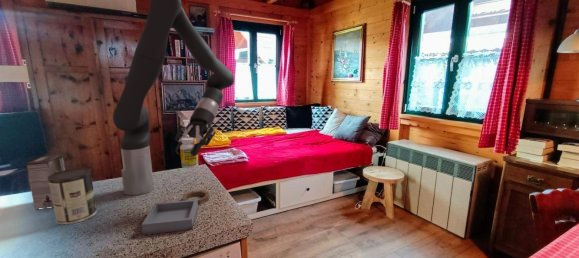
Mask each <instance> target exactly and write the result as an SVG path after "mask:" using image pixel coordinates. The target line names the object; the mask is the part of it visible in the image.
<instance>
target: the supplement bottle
mask: <svg viewBox="0 0 579 258" xmlns="http://www.w3.org/2000/svg"><path fill="white" fill-rule="evenodd" d="M181 140H182V143H183V144H182V145H181V146H180V153H181V154H180V161H181V162H180V163H181V168H183V169H193V168H196V167H198V166H199V153H198V154H197V155H196V156H193V155H192V154H191V151H192V149H193V147H194V145H195V143H196V142H195V138H193V137H189V136H188V137H186V138H182V139H181Z"/></svg>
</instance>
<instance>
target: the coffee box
mask: <svg viewBox="0 0 579 258" xmlns="http://www.w3.org/2000/svg"><path fill="white" fill-rule="evenodd" d="M25 168H26V173H27V178H28V181H29V187H30V191H31V192H30V193H31V197H32V201H33V206H34V210H35V209H39V208H47V207H54V206H53V201H52V196H51V191H50V186H49V181H48V179H47V178H48V176H50V175H52V174H54V173H57V172H60V171H64V170H67V167H66V162H65V154H56V155H42V156H41V157H40V156H39V157H38V158H36V159H34V160H32V161H29V162H26V163H25ZM39 210H40V209H39Z"/></svg>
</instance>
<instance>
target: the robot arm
mask: <svg viewBox="0 0 579 258" xmlns="http://www.w3.org/2000/svg"><path fill="white" fill-rule="evenodd" d="M187 15H188V14H186V11H185V10H184V8H183V6H182V0H150V1H149V8H148V14H147V17H146V22H145V25H144V28H143V30H142V32H141V34H140V36H139V39H138V42H137V45H136V47H135V50H134V53H133V56H132V59H131V62H130V67H129V70H128V73H127V77H126V81H125V83H124V87H123V90H122V93H121V95H120V96H119V100H118V102H117V104H116V105H115V108H114V110H113V113H112V122H113V124H114V126H115V127H116V128H117V129H118V130H120V131H124V133H123V136H122V138H121V140H120V143H119V145H120V152H121V159H122V160H121V161H122V168H121V170H120V171H121V179H122V186H123V194H124V195H128V196H139V195H144V194H148V193H149V192H152V191H154V188H155V186H154V176H153V167H152V166H153V165H152V157H151V149H150V139H151V123H150V122H151V121H150V114H149V112H148V109H147V108H146V107H145V106H144V102H145V99H146V97H147V95H148V93H149V91H150V90H151V89H152V87H153V85H155V83H156V81H157V80H158V77H159V76H160V73H161V71H162V68H163V65H164V61H165V58H166V53H167V47H168V41H169V36H170V32H171V29H174V31H175V32H176V33H177V35H178V36H179V38H180V39H181V40H182V42H183V43H184V45H185V47H186V48H187V50H188V51H189V53H190V54H191V56H192V58H193V59H194V61H195V62H196V63H197V64H198V66H199V67H200V68H201V70H203V71H210V72H212V74H210V75H209V77H208V78H207V80H206V83H205V88H204V92H203V94H202V96H201V98H200V99H199V101H198V102H197V104H196V106H195V108H194V109H193V112H192V114H191V115H190V117H189V118H190V119H189V123H188V124H187V125H185V126H183V125H179V126H178V129H177V132H176V135H175V137H174V140H175V141H176V142H177V143H178V144H177V146H176V148H175V153H176V154H177V155H181V153H180V146H181V145H182V144H183V143H182V140H181V139H182V138H186V137H193V138H194V139H195V140H196V142H194V143H195V145H194V147H193V149H192V151H191V154H192V155H193V156H196V155H197V154H198V155H199V152H200V151H201V148H202V147H203V146H205V147H207V146H208V145H210V143H211V141H212V139H213V138H214V137H215V134H216V133H217V132H216V131H215V129H214V128H213V127H212V125H213V123H214V121H215V119H216V116H217V114H218V111H219V108H220V105H221V103H222V102H223V98H224V94H223V91H222V90H225V89H227V88H230V87H232V86H233V85H234V82H235V78H234V74H233V73H232V71H231V70H230V69H229V67H227V66H226V64H224V63H223V62H222V61H221V60H220V59H218V58H217V56H216V55H215V54H214V52H213V50H212V49H211V47H210V46H209V45H208V43H207V41H205V39H204V38H203V37H202V35H201V34H200V33H199V32H198V30H197V29H196V28H195V26H193V24H192V22H191V21H190V19H189V17H188V16H187Z"/></svg>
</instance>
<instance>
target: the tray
mask: <svg viewBox="0 0 579 258" xmlns="http://www.w3.org/2000/svg"><path fill="white" fill-rule="evenodd" d="M198 199H199V198H197V199H188V200H185V201H182V200H175V201H165V202H155V203H154V204H153V206H152V207H151V209H150V211H149V213H148V214H147V216H146V217H145V218H144V220H143V222H142V224H141V228H142V235H143V236H144V235H150V234H153V235H154V234H159V233H169V232H178V231H179V232H180V231H186V230H193V229H194V226H195V221H196V217H197V214H198V210H199V205H198Z"/></svg>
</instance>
